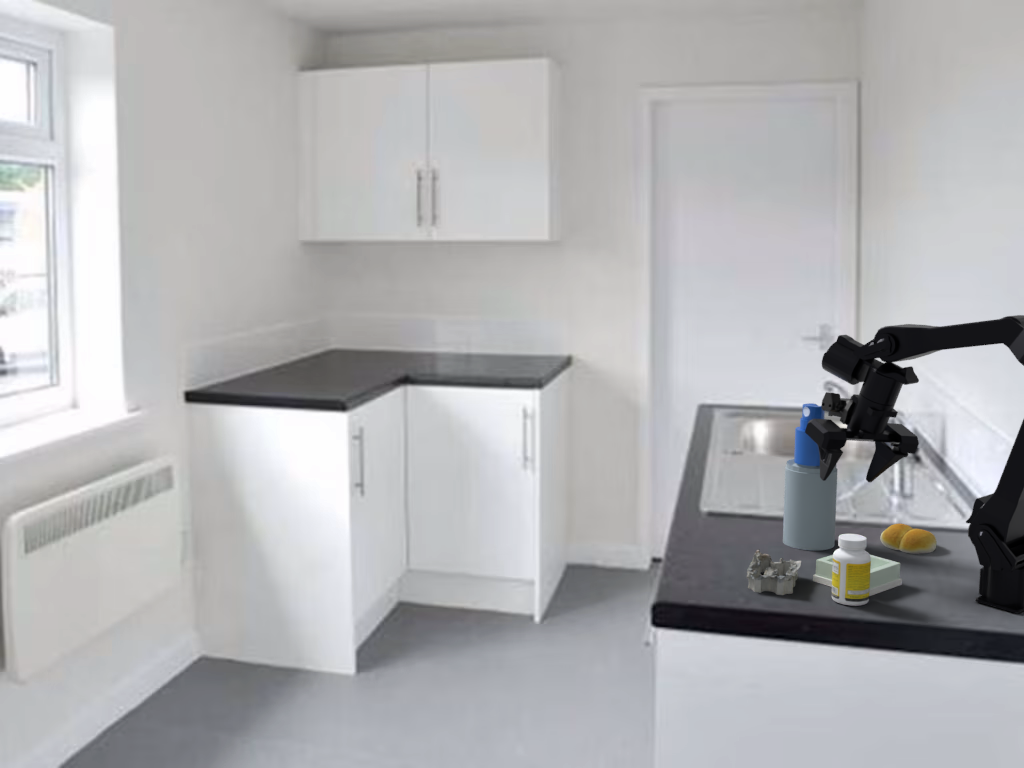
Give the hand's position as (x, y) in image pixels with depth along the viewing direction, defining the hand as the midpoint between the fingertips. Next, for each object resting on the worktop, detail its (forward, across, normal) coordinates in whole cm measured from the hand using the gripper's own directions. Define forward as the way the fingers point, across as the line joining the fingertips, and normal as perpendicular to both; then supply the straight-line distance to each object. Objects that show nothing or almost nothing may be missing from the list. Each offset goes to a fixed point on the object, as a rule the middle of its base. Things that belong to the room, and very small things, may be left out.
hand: (845, 480), depth 171 cm
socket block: (+10, +4, +15) cm, 19 cm away
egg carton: (+13, +16, +12) cm, 24 cm away
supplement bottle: (+9, +10, +21) cm, 25 cm away
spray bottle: (+16, -1, -4) cm, 17 cm away
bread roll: (+12, -16, +2) cm, 20 cm away
